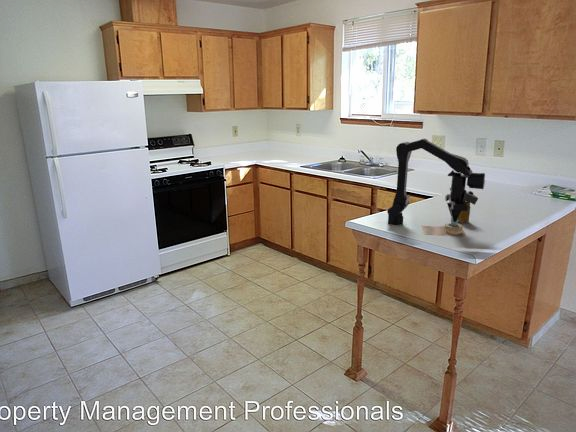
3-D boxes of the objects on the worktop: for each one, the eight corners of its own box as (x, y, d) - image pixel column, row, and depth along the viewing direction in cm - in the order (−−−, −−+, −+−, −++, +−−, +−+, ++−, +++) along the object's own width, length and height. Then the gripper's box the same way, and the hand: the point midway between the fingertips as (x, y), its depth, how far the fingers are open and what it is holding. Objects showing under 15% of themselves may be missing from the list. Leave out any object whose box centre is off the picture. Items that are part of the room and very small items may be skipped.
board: (424, 237, 190) (425, 234, 190) (420, 228, 202) (421, 225, 202) (467, 239, 187) (467, 236, 187) (460, 229, 200) (461, 227, 199)
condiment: (457, 221, 213) (460, 197, 210) (475, 224, 207) (478, 200, 204) (451, 224, 208) (454, 200, 204) (469, 228, 202) (472, 203, 199)
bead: (446, 233, 191) (447, 227, 190) (443, 228, 197) (444, 222, 196) (462, 234, 190) (463, 228, 189) (459, 229, 196) (460, 223, 195)
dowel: (450, 228, 192) (453, 206, 189) (449, 226, 194) (452, 204, 192) (457, 228, 191) (460, 206, 188) (456, 226, 194) (458, 205, 191)
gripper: (483, 192, 177) (478, 228, 182) (472, 182, 195) (468, 215, 200) (455, 191, 179) (451, 226, 184) (446, 182, 197) (443, 214, 201)
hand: (454, 220), depth 192 cm, fingers closed on dowel, 3 cm apart
